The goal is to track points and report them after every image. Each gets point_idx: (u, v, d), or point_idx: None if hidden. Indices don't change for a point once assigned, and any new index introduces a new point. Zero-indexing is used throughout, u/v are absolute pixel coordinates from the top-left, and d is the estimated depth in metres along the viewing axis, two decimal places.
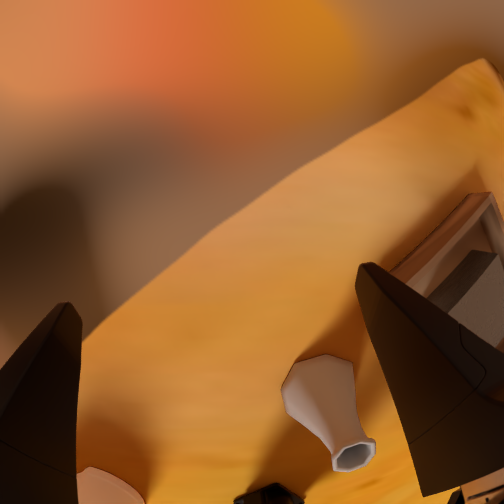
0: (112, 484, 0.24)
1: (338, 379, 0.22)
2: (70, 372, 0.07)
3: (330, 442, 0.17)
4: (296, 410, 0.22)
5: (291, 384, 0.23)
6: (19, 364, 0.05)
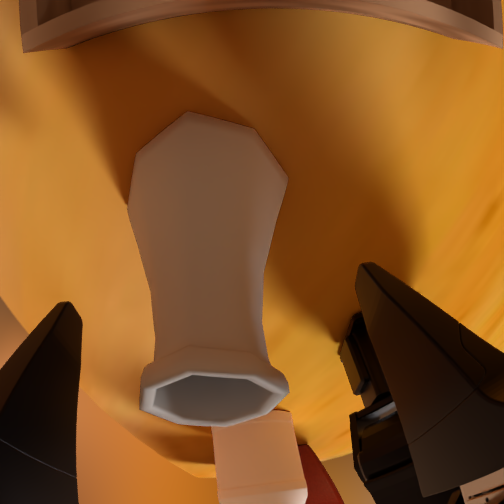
0: (233, 426, 0.29)
1: (155, 181, 0.10)
2: (70, 372, 0.07)
3: None
4: None
5: None
6: (19, 364, 0.05)
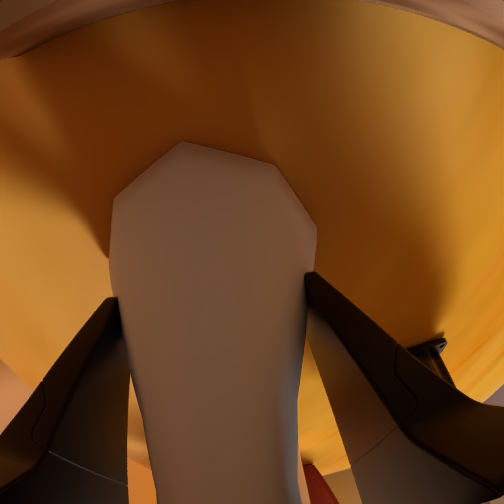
0: None
1: (137, 255, 0.07)
2: (122, 372, 0.07)
3: None
4: None
5: None
6: (71, 367, 0.05)
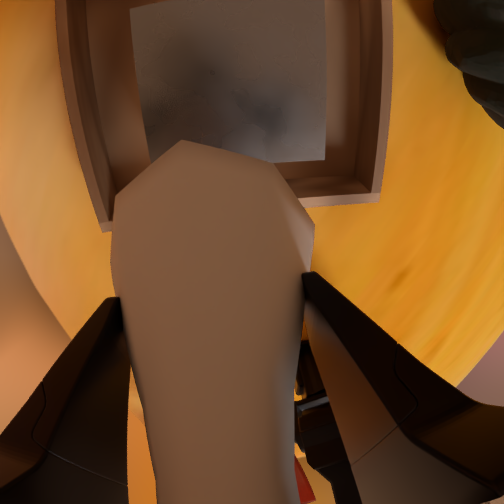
0: None
1: (138, 250, 0.07)
2: (122, 372, 0.07)
3: None
4: None
5: None
6: (71, 367, 0.05)
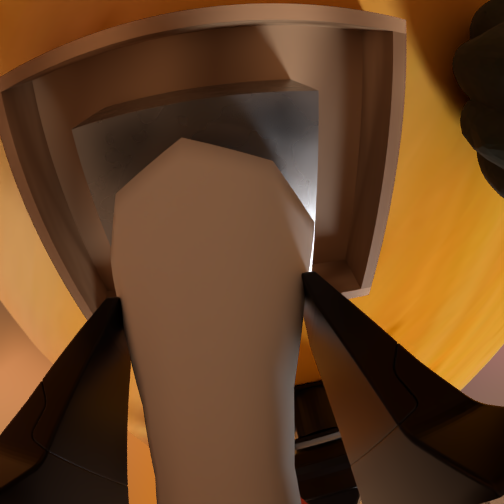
0: None
1: (139, 247, 0.07)
2: (122, 372, 0.07)
3: None
4: None
5: None
6: (71, 367, 0.05)
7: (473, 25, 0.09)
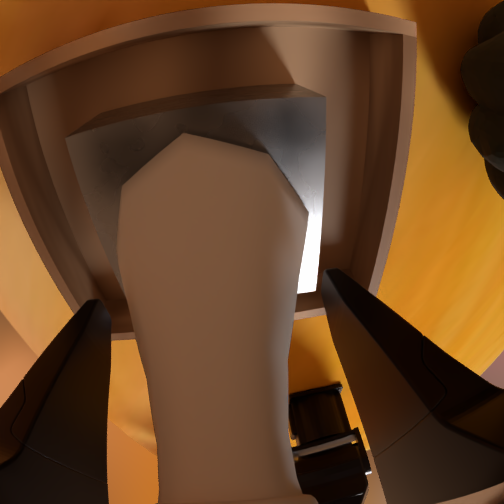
0: None
1: (144, 232, 0.08)
2: (101, 373, 0.07)
3: None
4: None
5: None
6: (50, 366, 0.05)
7: (482, 28, 0.09)
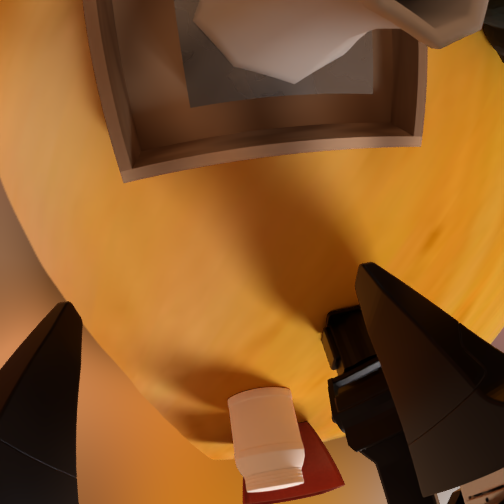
0: (245, 400, 0.39)
1: None
2: (70, 372, 0.07)
3: None
4: (273, 58, 0.09)
5: (222, 40, 0.09)
6: (19, 364, 0.05)
7: None
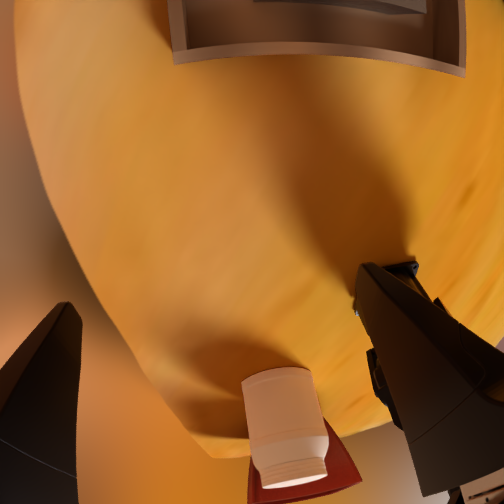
0: (262, 382, 0.35)
1: None
2: (70, 372, 0.07)
3: None
4: None
5: None
6: (19, 364, 0.05)
7: None
